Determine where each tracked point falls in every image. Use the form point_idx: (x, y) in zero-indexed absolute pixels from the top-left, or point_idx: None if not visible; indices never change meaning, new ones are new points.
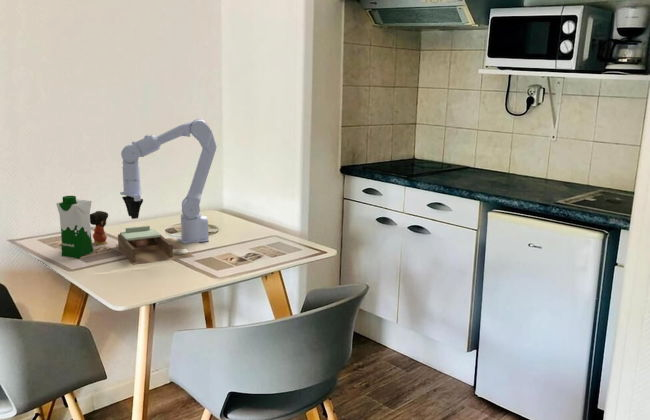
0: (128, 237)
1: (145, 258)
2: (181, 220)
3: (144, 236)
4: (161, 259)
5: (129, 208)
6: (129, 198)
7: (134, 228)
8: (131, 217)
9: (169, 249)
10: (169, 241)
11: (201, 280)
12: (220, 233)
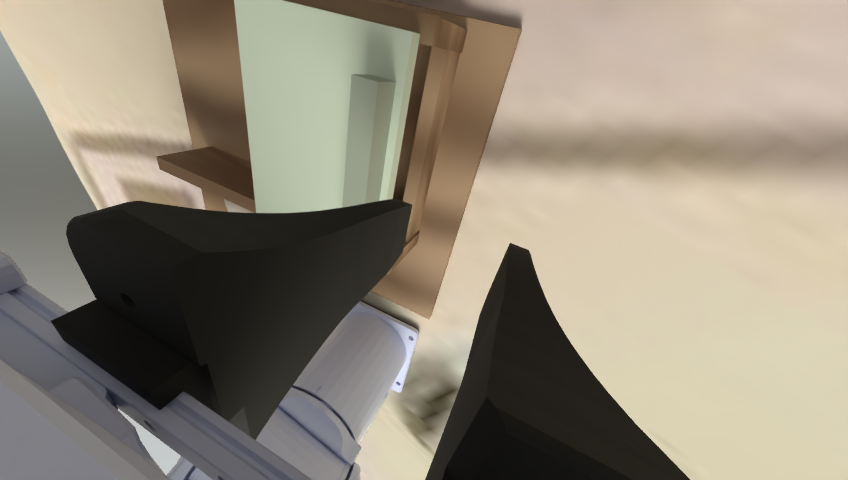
0: (256, 21)
1: (218, 54)
2: (320, 382)
3: (250, 127)
4: (196, 105)
5: (329, 225)
6: (444, 470)
7: (348, 144)
8: (399, 202)
9: (179, 152)
10: (389, 280)
11: (55, 96)
12: (397, 428)
